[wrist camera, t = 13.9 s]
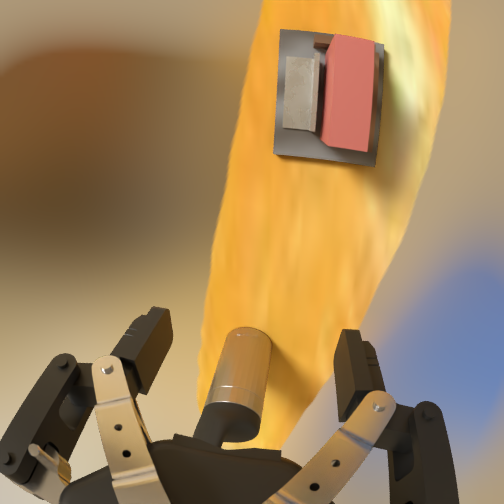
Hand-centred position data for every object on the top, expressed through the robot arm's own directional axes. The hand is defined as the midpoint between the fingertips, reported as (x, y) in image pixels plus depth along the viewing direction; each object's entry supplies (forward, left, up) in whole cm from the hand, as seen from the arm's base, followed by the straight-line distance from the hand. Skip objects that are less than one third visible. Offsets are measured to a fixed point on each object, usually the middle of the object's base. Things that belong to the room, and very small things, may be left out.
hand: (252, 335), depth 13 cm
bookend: (+13, -1, -29) cm, 32 cm away
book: (+13, -6, -29) cm, 32 cm away
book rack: (+13, -5, -30) cm, 34 cm away
